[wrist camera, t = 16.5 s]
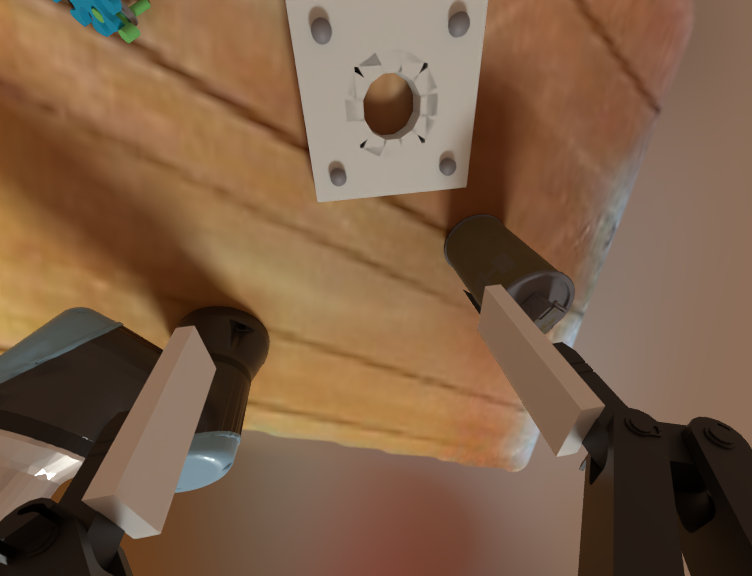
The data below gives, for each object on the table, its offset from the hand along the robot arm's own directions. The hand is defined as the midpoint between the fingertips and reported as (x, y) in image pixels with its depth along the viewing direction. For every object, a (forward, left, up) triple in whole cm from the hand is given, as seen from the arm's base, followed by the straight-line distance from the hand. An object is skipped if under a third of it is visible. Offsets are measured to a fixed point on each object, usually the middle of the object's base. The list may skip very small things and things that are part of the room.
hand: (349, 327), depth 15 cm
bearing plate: (+8, +6, -33) cm, 34 cm away
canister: (+22, -15, -33) cm, 42 cm away
